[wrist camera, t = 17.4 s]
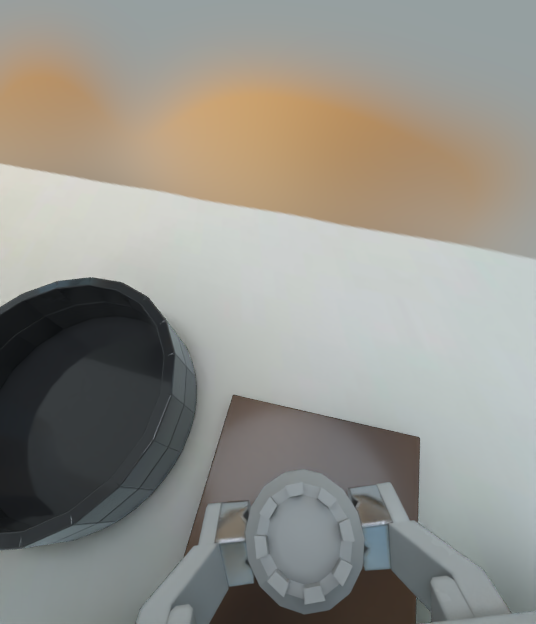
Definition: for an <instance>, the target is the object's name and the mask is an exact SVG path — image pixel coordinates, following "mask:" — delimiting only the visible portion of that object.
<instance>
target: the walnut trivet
mask: <svg viewBox="0 0 536 624" xmlns="http://www.w3.org/2000/svg"><path fill="white" fill-rule="evenodd" d="M419 456H420V438H419V437H416V436H411V435H407V434H403V433H398V432H394V431H389V430H385V429H381V428H376V427H372V426H368V425H363V424H359V423H355V422H350V421H346V420H341V419H337V418H333V417H328V416H324V415H320V414H315V413H311V412H306V411H302V410H298V409H293V408H289V407H285V406H280V405H276V404H272V403H267V402H263V401H258V400H254V399H250V398H245V397H241V396H237V395H233V397H232V400H231V403H230V406H229V410H228V413H227V416H226V420H225V423H224V426H223V429H222V433H221V436H220V439H219V443H218V446H217V449H216V452H215V456H214V459H213V462H212V466H211V469H210V472H209V475H208V479H207V482H206V485H205V489H204V492H203V495H202V498H201V502H200V505H199V508H198V511H197V515H196V518H195V521H194V525H193V528H192V531H191V534H190V538H189V541H188V544H187V548H186V551H185V554H184V557H185V556H186V554H187V553H188V552H189V551H190V550H191V549H192V547H193V546H196V545H198V543H199V538H200V534H201V529H202V525H203V520H204V515H205V511H206V507H207V505H208V504H211V503H222V502H230V501H240V500H249V501H250V504H251V506H252V504H253V503H254V501H255V500H256V498H257V497H258V495H259V494H260V492H261V490H262V489H263V487H264V486H265V485H267V484H268V483H270V482H271V481H273V480H274V479H275V478H277V477H278V476H280V475H281V474H283V473H285V472H289V471H294V470H300V469H306V470H310V471H313V472H317V473H321V474H323V475H324V476H326V477H327V478H328V479H330V480H331V481H332V482H334V483H335V484H336V485H338V486H339V487H340V488H342V489H343V490H344V491H345V493H346V495H347V496H348V488H350V487H357V486H365V485H373V484H375V485H376V484H379V483H387V482H390V483H391V484H392V486H393V488H394V490H395V492H396V494H397V496H398V498H399V500H400V502H401V504H402V506H403V508H404V510H405V512H406V514H407V516H408V518H409V520H410V521H412V520H415V521H416V522H417V523H418V498H419ZM184 557H183V558H184ZM228 588H229V589H228V591H227V593H226V594H225V596H224V598H223V600H222V602H221V603H220V605H219V607H218V609H217V610H216V612H215V614H214V616H213V618H212V619H211V621H210V623H209V624H416V596H415V595H414V594H413V593H412V592H411V590H410V589H409V588H408V587H407V586H406V585H405V584H404V583H403V582H402V581H401V580H400V579H399V578H398V577H397V576H396V575H395V573H394V572H393V571H392V570H391V569H382V570H369V571H365V569H364V566H362V570H361V572H360V574H359V576H358V578H357V580H356V582H355V584H354V586H353V588H352V591H351V593H350V594H349V595H347V596H346V597H345V598H344V599H343V600H341V601H340V602H339V603H338V604H336V605H335V606H334V607H333V608H332V609H330V610H327V611H321V612H316V613H310V614H302V613H299V612H296V611H293V610H290V609H287V608H284V607H281V606H279V605H278V604H277V603H276V602H275V601H274V600H273V599H272V598H271V597H270V596H269V595H268V594H267V593H266V592H265V591H264V590H263V589H262V588H261V587H260V586H259V583H258V581H257V579H256V577H255V575H254V583H252V584H245V585H239V586H232V587H228Z"/></svg>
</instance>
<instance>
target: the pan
mask: <svg viewBox="0 0 536 624" xmlns="http://www.w3.org/2000/svg"><path fill="white" fill-rule="evenodd" d="M196 396H197V385H196V375H195V371H194V367H193V363H192V360H191V358H190V355H189V352H188V349H187V347H186V346H185V345H184V343H183V342H182V341H181V339H180V338H179V336H178V335H177V334H176V332H175V331H174V330H173V328H172V327H171V326H170V324H169V323H168V322H167V320H166V319H165V318H164V317H163V315H162V314H161V313H160V311H159V310H158V309H157V308H156V306H155V305H154V304H153V302H152V301H151V300H150V299H149V298H148V297H147V296H146V295H144V294H142V293H140V292H138V291H137V290H135V289H133V288H131V287H130V286H128V285H126V284H124V283H122V282H117V281H111V280H105V279H99V278H93V277H92V278H91V277H90V278H81V279H72V280H63V281H58V282H54V283H51V284H48V285H45V286H43V287H40V288H37V289H34V290H31V291H29V292H26V293H23V294H21V295H19V296H18V297H16V298H14V299H13V300H11V301H9V302H8V303H6V304H4V305H3V306H1V307H0V550H11V549H22V548H28V547H35V546H41V545H48V544H54V543H61V542H67V541H73V540H77V539H80V538H82V537H84V536H87V535H90V534H92V533H95V532H97V531H100V530H102V529H104V528H106V527H108V526H110V525H112V524H113V523H115V522H117V521H119V520H120V519H122V518H123V517H125V516H126V515H127V514H129V513H130V512H131V511H133V510H134V509H136V508H137V507H138V506H139V505H140V504H141V503H142V502H143V501H144V500H146V499H147V498H148V497H149V496H150V495H151V494H152V493H153V492H154V490H155V489H156V488H157V487H158V486H159V485H160V484H161V482H162V481H163V480H164V479H165V477H166V476H167V474H168V473H169V472H170V470H171V469H172V467H173V466H174V464H175V462H176V461H177V459H178V457H179V455H180V453H181V452H182V450H183V447H184V445H185V443H186V440H187V438H188V435H189V433H190V429H191V426H192V422H193V419H194V414H195V407H196Z"/></svg>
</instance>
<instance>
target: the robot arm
mask: <svg viewBox="0 0 536 624" xmlns="http://www.w3.org/2000/svg"><path fill="white" fill-rule="evenodd" d="M348 498H349V499H350V501H351V502H352V504H353V505H354V507H355V508H356V510H357V512H358V515H359V519H360V523H361V527H362V531H363V535H364V539H365V541H364V553H363V566H364V569H365V571H369V570H382V569H391V570H392V571H393V572H394V573H395V575H396V576H397V577H398V578H399V579H400V580H401V581H402V582H403V583H404V584H405V585H406V586H407V587H408V588H409V589H410V590H411V592H412V593H413V594H414V595H415V596H416V597H417V598H418V599H419V600H420V601H421V602H422V603H423V604H424V605H425V606H426V607H427V609H428V610H429V611H430V612H431V622H428V623H418V624H536V611H532V612H522V613H513V614H512V613H511V611H510V610H509V608H508V607H507V605H506V603H505V602H504V600H503V599H502V597H501V596H500V594H499V593H498V591H497V589H496V588H495V586H494V585H493V583H492V582H491V580H490V578H489V577H488V575H487V574H486V572H485V571H484V570H483V569H482V568H480V567H479V566H477V565H476V564H475V563H473V562H472V561H470V560H469V559H468V558H466V557H465V556H463V555H462V554H461V553H459V552H458V551H456V550H455V549H454V548H452V547H451V546H450V545H448V544H447V543H445V542H444V541H443V540H441V539H440V538H438V537H437V536H436V535H434V534H433V533H431V532H430V531H429V530H427V529H426V528H424V527H423V526H422V525H420V524H419V523H417V522H416V521H415V520H412V521H410V520H409V518H408V516H407V514H406V512H405V510H404V508H403V506H402V504H401V502H400V500H399V498H398V496H397V494H396V492H395V490H394V488H393V486H392V484H391V483H390V482H387V483H379V484H376V485H375V484H373V485H365V486H357V487H350V488H348ZM250 509H251V504H250V501H249V500H240V501H230V502H222V503H211V504H208V505H207V507H206V511H205V515H204V520H203V525H202V529H201V534H200V538H199V543H198V545H196V546H193V547H192V549H191V550H190V551H189V552H188V553H187V554H186V556H185V557H184V558H183V559H182V560H181V561H180V563H179V564H178V565H177V566H176V567H175V568H174V570H173V571H172V572H171V573H170V574H169V575H168V577H167V578H166V579H165V580H164V581H163V582H162V584H161V585H160V586H159V587H158V588H157V589H156V591H155V592H154V593H153V594H152V595H151V596H150V598H149V599H148V600H147V601H146V602H145V603H144V605H143V606H142V607H141V608H140V611H139V614H138V617H137V620H136V623H135V624H209V623H210V621H211V619H212V618H213V616H214V614H215V612H216V610H217V609H218V607H219V605H220V603H221V602H222V600H223V598H224V596H225V594H226V593H227V591H228V589H229V588H228V587H232V586H239V585H245V584H252V583H254V572H253V570H252V568H251V566H250V564H249V561H248V555H247V545H246V535H245V531H246V527H247V522H248V518H249V514H250Z"/></svg>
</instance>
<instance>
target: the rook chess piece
mask: <svg viewBox="0 0 536 624" xmlns="http://www.w3.org/2000/svg"><path fill="white" fill-rule="evenodd" d="M245 535H246V545H247V555H248V561H249V564H250V566H251V568H252V570H253V572H254V575H255V577H256V579H257V581H258V583H259V586H260V587H261V588H262V589H263V590H264V591H265V592H266V593H267V594H268V595H269V596H270V597H271V598H272V599H273V600H274V601H275V602H276V603H277V604H278V605H279V606H281V607H284V608H287V609H290V610H293V611H296V612H299V613H302V614H310V613H316V612H321V611H327V610H330V609H332V608H333V607H334V606H335V605H336V604H338V603H339V602H340V601H341V600H343V599H344V598H345V597H346V596H347V595H349V594H350V593H351V591H352V588H353V586H354V584H355V582H356V580H357V578H358V576H359V574H360V572H361V570H362V566H363V553H364V541H365V539H364V535H363V531H362V527H361V523H360V519H359V515H358V512H357V510H356V508H355V507H354V505H353V504H352V502H351V501H350V499H349V498H348V496H347V495H346V493H345V491H344V490H343V489H342V488H340V487H339V486H338V485H336V484H335V483H334V482H332V481H331V480H330V479H328V478H327V477H326V476H324V475H323V474H321V473H317V472H313V471H310V470H306V469H300V470H294V471H289V472H285V473H283V474H281V475H280V476H278V477H277V478H275V479H274V480H273V481H271V482H270V483H268V484H267V485H265V486H264V487H263V489H262V490H261V492H260V494H259V495H258V497H257V498H256V500H255V501H254V503H253V504H252V506H251V509H250V514H249V518H248V522H247V527H246V531H245Z"/></svg>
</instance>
